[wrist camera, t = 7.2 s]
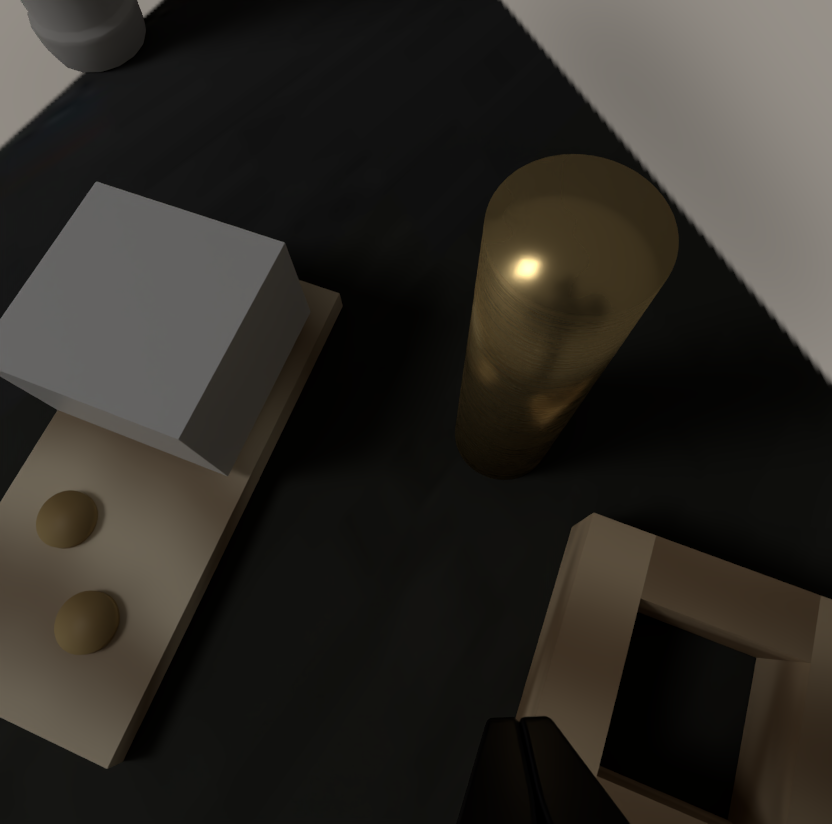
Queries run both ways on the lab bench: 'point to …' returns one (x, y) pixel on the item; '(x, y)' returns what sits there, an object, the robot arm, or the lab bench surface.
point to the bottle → (88, 31)
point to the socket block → (707, 617)
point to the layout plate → (119, 562)
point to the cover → (156, 325)
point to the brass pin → (555, 301)
